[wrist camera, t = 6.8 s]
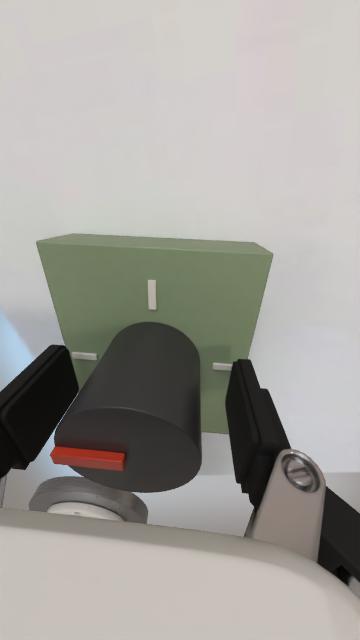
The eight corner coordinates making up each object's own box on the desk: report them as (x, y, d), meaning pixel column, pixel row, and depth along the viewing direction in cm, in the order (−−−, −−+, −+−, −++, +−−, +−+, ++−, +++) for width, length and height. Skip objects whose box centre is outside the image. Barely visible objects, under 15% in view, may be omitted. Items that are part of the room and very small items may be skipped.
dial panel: (224, 399, 17) (229, 437, 14) (103, 388, 17) (84, 423, 14) (255, 242, 11) (275, 254, 8) (72, 233, 11) (32, 241, 9)
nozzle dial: (204, 325, 10) (210, 426, 5) (195, 396, 12) (195, 509, 8) (103, 317, 10) (26, 408, 6) (114, 389, 13) (66, 494, 8)
